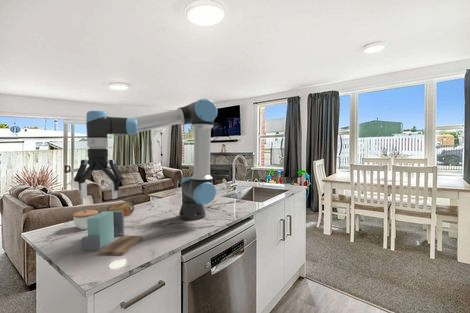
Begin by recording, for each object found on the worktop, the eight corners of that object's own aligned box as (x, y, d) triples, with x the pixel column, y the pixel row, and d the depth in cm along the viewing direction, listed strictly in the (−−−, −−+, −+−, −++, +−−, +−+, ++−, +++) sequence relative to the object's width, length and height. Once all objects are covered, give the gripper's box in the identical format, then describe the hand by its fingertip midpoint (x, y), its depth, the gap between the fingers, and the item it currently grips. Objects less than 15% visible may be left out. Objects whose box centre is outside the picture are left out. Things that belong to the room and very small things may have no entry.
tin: (108, 220, 132) (107, 205, 132) (106, 219, 134) (105, 204, 134) (134, 214, 144) (134, 200, 143) (132, 213, 146) (131, 200, 145)
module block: (114, 238, 107) (113, 211, 107) (100, 247, 97) (98, 218, 97) (103, 237, 108) (102, 211, 107) (88, 247, 98) (87, 218, 97)
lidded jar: (87, 223, 128) (86, 206, 128) (103, 225, 125) (102, 207, 125) (68, 230, 118) (67, 211, 118) (85, 232, 115) (84, 213, 115)
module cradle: (124, 234, 111) (123, 211, 111) (101, 250, 94) (100, 223, 94) (104, 234, 112) (103, 211, 111) (77, 250, 95) (75, 223, 94)
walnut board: (142, 238, 106) (142, 235, 106) (122, 254, 90) (122, 251, 90) (122, 238, 107) (122, 235, 107) (100, 254, 91) (100, 251, 91)
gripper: (62, 148, 98) (64, 199, 98) (121, 148, 96) (122, 200, 97) (76, 148, 105) (77, 196, 106) (130, 148, 103) (132, 196, 104)
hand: (99, 198), depth 101 cm, fingers open, 13 cm apart
